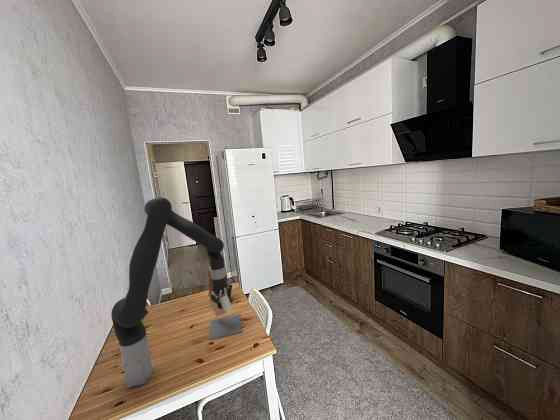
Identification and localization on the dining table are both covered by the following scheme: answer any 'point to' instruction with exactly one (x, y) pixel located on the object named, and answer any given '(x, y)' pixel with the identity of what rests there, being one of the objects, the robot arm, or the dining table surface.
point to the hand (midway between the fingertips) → (223, 306)
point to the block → (225, 306)
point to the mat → (225, 327)
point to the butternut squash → (211, 283)
